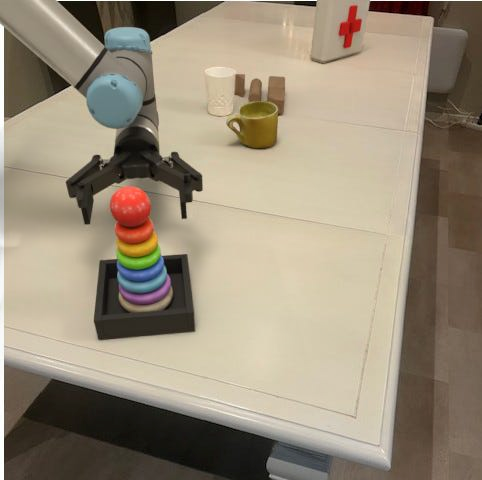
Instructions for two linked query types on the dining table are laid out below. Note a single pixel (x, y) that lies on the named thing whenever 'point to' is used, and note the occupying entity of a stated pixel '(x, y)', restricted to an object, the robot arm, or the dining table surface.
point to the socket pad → (151, 322)
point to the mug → (256, 124)
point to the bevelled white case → (338, 29)
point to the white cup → (220, 90)
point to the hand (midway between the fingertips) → (135, 213)
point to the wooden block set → (274, 88)
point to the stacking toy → (138, 254)
